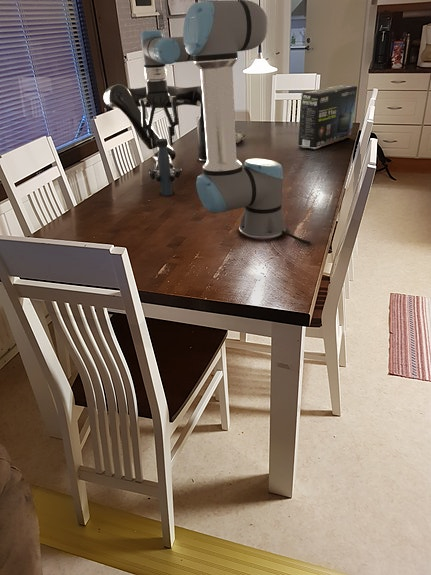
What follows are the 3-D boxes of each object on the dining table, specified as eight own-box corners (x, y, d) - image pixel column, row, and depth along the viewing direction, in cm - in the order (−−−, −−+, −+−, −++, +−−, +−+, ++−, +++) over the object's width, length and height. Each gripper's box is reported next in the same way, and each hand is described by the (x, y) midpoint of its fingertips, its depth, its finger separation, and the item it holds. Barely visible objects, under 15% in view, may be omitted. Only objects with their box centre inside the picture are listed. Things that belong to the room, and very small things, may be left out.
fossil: (236, 139, 242) (217, 121, 245) (225, 156, 248) (207, 138, 251) (252, 138, 255) (234, 121, 258) (242, 154, 262) (224, 137, 265)
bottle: (170, 190, 188) (165, 139, 177) (174, 194, 184) (169, 142, 173) (159, 192, 186) (154, 141, 176) (162, 196, 182) (157, 143, 172)
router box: (314, 151, 231) (318, 94, 217) (296, 148, 237) (299, 92, 224) (352, 138, 251) (358, 85, 238) (335, 135, 258) (340, 83, 245)
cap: (161, 148, 173) (160, 141, 172) (154, 146, 176) (154, 140, 174) (169, 145, 175) (169, 139, 174) (163, 144, 178) (162, 138, 177)
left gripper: (146, 159, 191) (145, 171, 177) (180, 156, 192) (183, 168, 178) (148, 176, 195) (148, 189, 181) (182, 174, 196) (184, 187, 182)
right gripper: (130, 83, 158) (138, 150, 170) (184, 79, 163) (189, 145, 174) (127, 80, 164) (135, 146, 176) (179, 76, 169) (184, 140, 181)
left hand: (165, 179), depth 179 cm, fingers closed on bottle, 4 cm apart
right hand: (162, 145), depth 175 cm, fingers open, 6 cm apart
